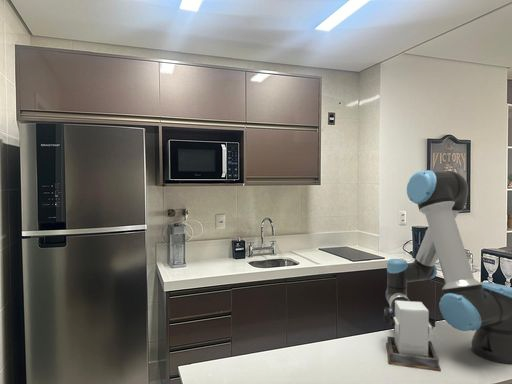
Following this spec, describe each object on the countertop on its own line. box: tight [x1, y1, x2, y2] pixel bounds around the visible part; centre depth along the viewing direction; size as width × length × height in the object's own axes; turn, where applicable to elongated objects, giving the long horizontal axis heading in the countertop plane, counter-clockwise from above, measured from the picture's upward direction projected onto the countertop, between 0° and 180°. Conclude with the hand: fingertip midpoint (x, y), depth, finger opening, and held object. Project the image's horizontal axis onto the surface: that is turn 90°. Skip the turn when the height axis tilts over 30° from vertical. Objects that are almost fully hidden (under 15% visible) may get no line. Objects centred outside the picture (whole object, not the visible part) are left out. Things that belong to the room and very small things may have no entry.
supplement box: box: [394, 300, 430, 357], centre depth 118 cm, size 9×9×15 cm
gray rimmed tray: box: [385, 335, 442, 372], centre depth 118 cm, size 15×15×3 cm
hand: (414, 329), depth 113 cm, fingers closed on supplement box, 9 cm apart
